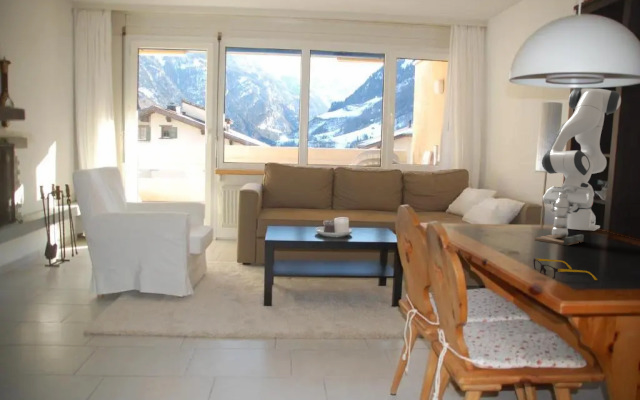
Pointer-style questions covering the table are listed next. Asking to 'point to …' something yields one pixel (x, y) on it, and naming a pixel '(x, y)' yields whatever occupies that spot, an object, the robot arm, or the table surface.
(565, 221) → the plastic bottle
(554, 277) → the eyeglasses
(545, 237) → the walnut board
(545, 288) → the table surface
